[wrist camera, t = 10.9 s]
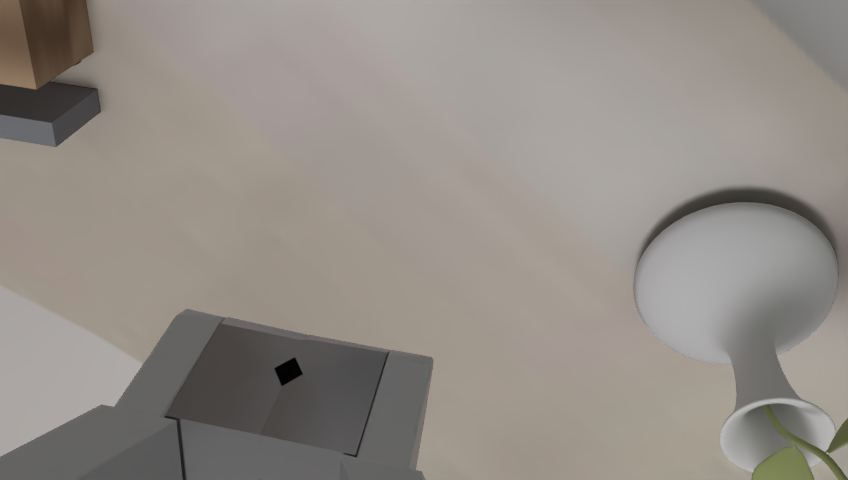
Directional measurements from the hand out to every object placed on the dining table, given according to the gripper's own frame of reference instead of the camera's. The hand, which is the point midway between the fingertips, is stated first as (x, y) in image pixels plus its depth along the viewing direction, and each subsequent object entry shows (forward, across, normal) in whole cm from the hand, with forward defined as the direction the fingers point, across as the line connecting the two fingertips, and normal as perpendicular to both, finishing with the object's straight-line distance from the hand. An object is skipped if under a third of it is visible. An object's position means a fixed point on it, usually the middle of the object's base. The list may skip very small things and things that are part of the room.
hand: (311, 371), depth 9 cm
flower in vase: (+34, -17, +19) cm, 43 cm away
